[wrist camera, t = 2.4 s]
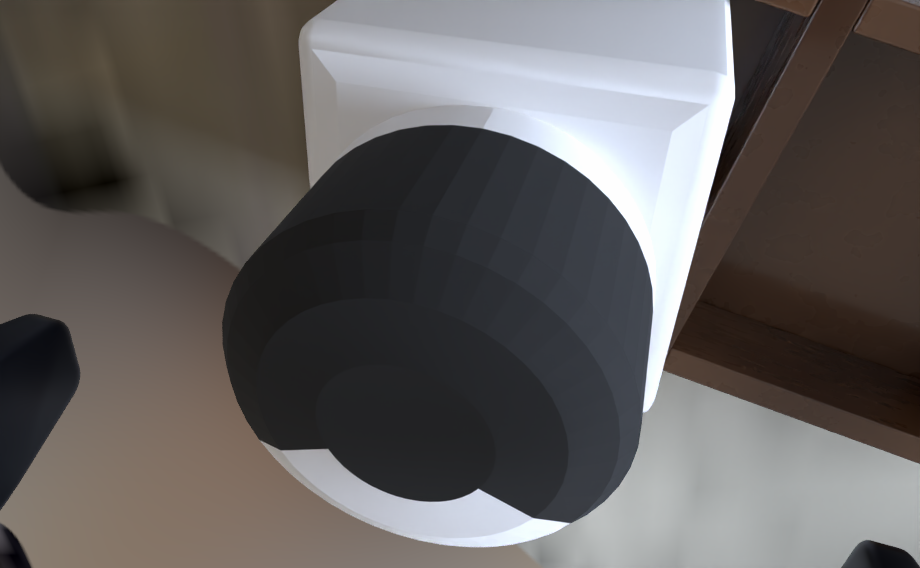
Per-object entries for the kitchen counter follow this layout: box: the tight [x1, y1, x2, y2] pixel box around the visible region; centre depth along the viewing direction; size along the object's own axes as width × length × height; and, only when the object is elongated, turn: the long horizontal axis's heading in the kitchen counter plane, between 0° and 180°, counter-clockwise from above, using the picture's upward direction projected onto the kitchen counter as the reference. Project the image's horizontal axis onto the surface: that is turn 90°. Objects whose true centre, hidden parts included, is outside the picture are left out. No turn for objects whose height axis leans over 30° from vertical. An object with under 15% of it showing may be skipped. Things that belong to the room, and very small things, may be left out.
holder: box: [663, 0, 920, 464], centre depth 19 cm, size 19×10×3 cm, turn 77°
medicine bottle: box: [222, 0, 735, 547], centre depth 15 cm, size 7×7×12 cm
